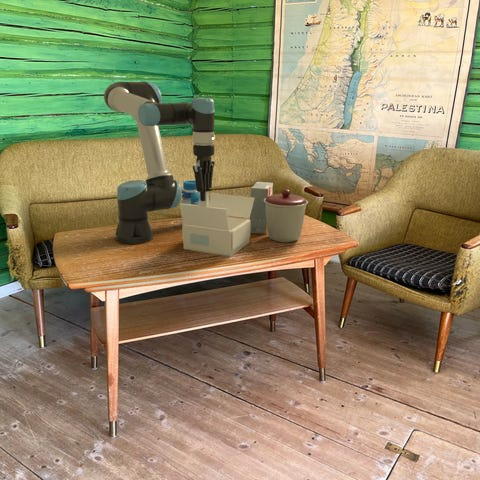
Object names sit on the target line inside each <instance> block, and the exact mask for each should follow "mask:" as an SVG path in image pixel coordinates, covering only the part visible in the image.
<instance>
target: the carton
mask: <svg viewBox="0 0 480 480" xmlns="http://www.w3.org/2000/svg"><path fill="white" fill-rule="evenodd" d="M228 222H229V231H225V230H218V229H211V228H204V227H198V226H191V225H184V224H183V223H181V226H182V228H181V229H182V243H183V250H186V251H192V252H198V253H203V254H204V253H205V254H210V255H216V256H222V257H228V258H231V257H233V256H234V255H236V254H237V253H238V252H239V251H241V250H242V249H244V248H245V247H246V246H247V245H249V243H250V238H251V233H250V224H251V220H250V218H241V217H234V216H228Z"/></svg>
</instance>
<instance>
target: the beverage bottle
mask: <svg viewBox="0 0 480 480" xmlns="http://www.w3.org/2000/svg"><path fill="white" fill-rule="evenodd" d="M182 184H183V185H182V188H183V189H182V190H183V193H182V197H181V200H182V201H181V203H183V204H191V205H199V206H200V192H197V189H196V182H195V180H184V181H183V183H182Z"/></svg>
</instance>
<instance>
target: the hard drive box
mask: <svg viewBox="0 0 480 480" xmlns="http://www.w3.org/2000/svg"><path fill="white" fill-rule="evenodd" d="M273 187H274V183H273V182H267V181H257V182H255V183H254V184H253V186H252V187H250V197H253V198H254V202H253V206H252V210H251V214H250V217H249V220H251V224H250V234H260V235H261V234H262V235H266V234H268V231H267V221H266V207H265V202H264V199H265V198H267V197H268V196H271V195H273Z"/></svg>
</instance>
